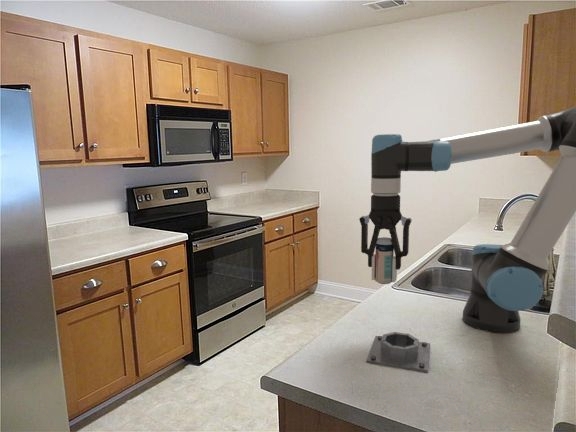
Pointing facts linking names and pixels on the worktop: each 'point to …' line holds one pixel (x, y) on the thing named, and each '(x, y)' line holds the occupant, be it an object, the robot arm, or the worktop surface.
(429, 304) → the worktop surface
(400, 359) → the duct flange
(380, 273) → the beer can
